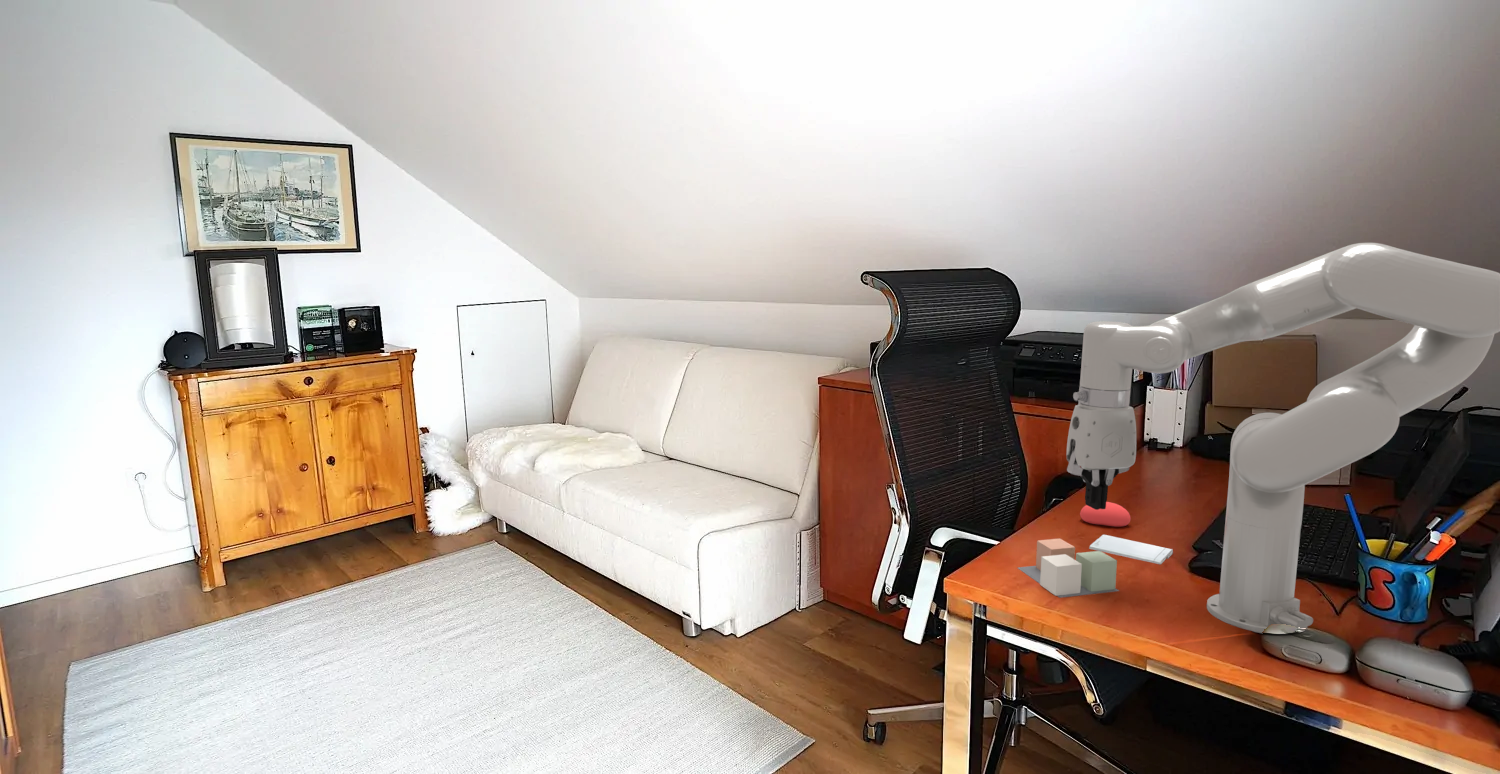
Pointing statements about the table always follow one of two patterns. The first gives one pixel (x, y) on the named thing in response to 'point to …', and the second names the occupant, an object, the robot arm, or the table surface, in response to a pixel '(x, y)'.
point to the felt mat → (1036, 575)
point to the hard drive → (1131, 549)
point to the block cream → (1060, 574)
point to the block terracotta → (1053, 549)
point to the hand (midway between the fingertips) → (1095, 506)
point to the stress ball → (1106, 515)
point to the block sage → (1097, 571)
